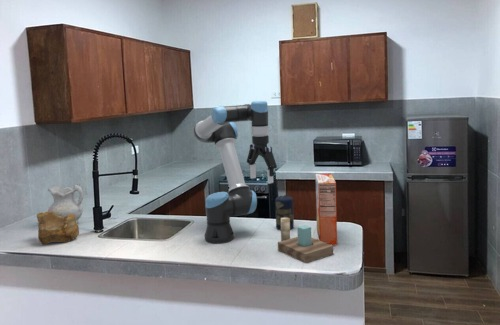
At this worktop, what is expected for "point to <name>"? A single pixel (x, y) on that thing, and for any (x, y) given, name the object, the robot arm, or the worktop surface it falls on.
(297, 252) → the socket block
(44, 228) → the rough brown rock
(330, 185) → the pasta box
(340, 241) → the worktop surface
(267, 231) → the worktop surface
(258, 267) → the worktop surface
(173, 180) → the worktop surface
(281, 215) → the canister
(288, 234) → the round dowel
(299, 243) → the square peg
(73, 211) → the ceramic pitcher
